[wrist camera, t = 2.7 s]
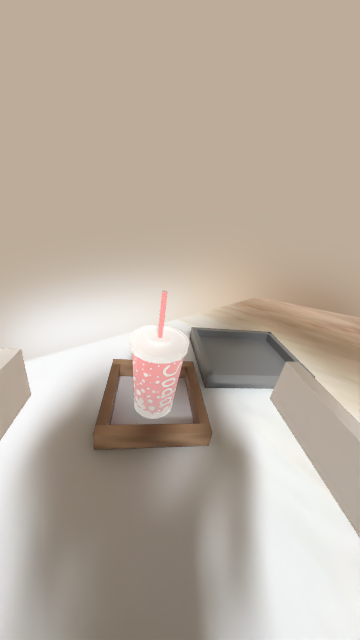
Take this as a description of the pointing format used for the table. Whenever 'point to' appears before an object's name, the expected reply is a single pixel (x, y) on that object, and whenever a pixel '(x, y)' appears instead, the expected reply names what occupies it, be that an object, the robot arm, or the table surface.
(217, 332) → the tray
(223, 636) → the table surface
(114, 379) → the holder
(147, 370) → the beverage cup
